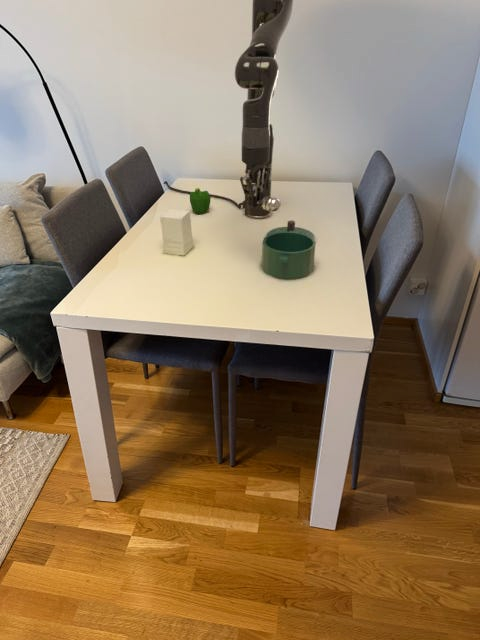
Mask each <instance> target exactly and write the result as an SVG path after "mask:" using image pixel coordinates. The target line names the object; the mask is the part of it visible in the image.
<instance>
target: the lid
mask: <svg viewBox="0 0 480 640" xmlns="http://www.w3.org/2000/svg"><path fill="white" fill-rule="evenodd" d="M286 225H287V226H280V227H276V228H275V227H274V228H272V229H270V230H269V231H267V233H266V236H268V235H270V234H273V233H277V232H289V231H297V233H302V234H305V235H308V236H310V237H311V238H313V239H314V240H315V234H314V233H313V232H312V231H310V230H308V229H307V228H302V227H298V226H296V221H295V220H287V224H286Z"/></svg>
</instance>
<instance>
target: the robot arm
mask: <svg viewBox="0 0 480 640" xmlns="http://www.w3.org/2000/svg"><path fill="white" fill-rule="evenodd" d="M251 5H252V6H251V7H252V8H251V40H250V43H249V46H248V47H247V48H246V49H245V50H244V51H243V53H242V54H240V55H239V58H238V60H237V61H236V63H235V64H236V65H235V67H234V81H235V82H236V84H237V85H238V86H239V88H240V89H243V90H247V91H246V92H247V94H246V95H247V96H246V100H245V101H244V102H243V103H242V112H241V113H242V118H241V119H242V126H241V127H242V128H241V162H242V163H244V164H245V170H244V173H245V175H244V176H240V178H239V182H240V185H241V189H242V191H243V194H244V200H243V201H242V202H240V203H238V202H236V201H235V200H234V199H231V198H229V197H225V196H221V195H218V194H212V193H209V194H210V198H211V197H212V198H218V199H221V200H226V201H228V202H230V203H232V204H233V205H235V206H236V207H237V208H238V209H243V210H244V215H245V216H247V217H249V218H252V219H266V218H268V217H270V216H271V212H272V211H268V210H265V209H259V208H256V207H257V200H259V201H262V199H263V198H264V197H267V196H269V197H272V174H273V173H272V172H273V154H274V143H275V130H274V129H275V128H274V126H273V125H272V123H270V119H271V118H270V117H271V114H270V113H271V105H272V99H273V97H274V95H275V93H276V91H277V83H278V77H279V64H278V62H277V60H276V55H277V51H278V47H279V44H280V41H281V38H282V36H283V35H284V33H285V31H286V29H287V27H288V25H289V23H290V19H291V17H292V12H293V5H294V0H252V4H251ZM163 185H165V186H167V188H168V189H170V190H172V191H174V192H179V193H184V194H188V195H190V193H191V192H192V191H189V190H182V189H178V188H175V187H172V186H170V184H169V183H168V181H167V180H165V181H163ZM248 200H249V206H248V205H247V201H248Z"/></svg>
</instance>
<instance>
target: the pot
mask: <svg viewBox="0 0 480 640" xmlns="http://www.w3.org/2000/svg"><path fill="white" fill-rule="evenodd" d="M316 244H317V241H316V240H315V238H314V239H313V238H311V237H310V236H308V235H305V234H302V233H297V231H289V232H277V233H273V234H270V235H268V236H267V235H266V236H265V237H263V240H262V243H261V247H262V248H261V268H262V271H263V272H264V273H265V274H266V275H268V276H270V277H273V278H275V279H280V280H298V279H299V280H300V279H303V278H306V277H308V276H310V275H311V274H312V273H313V271H314V265H315V254H316Z"/></svg>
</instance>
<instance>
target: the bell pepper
mask: <svg viewBox="0 0 480 640" xmlns="http://www.w3.org/2000/svg"><path fill="white" fill-rule="evenodd" d="M190 192H191V193H190V194H189V203H190V206H191V209H192V212H194V214H197V215H201V214H204V213H208V212H209V209H210V206H211V201H212V199H211V196H210V194H211V193H209V192H208V190H203V191H202V190H201V189H200V188H199V187H197V188H195V189H194V191H190Z"/></svg>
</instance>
